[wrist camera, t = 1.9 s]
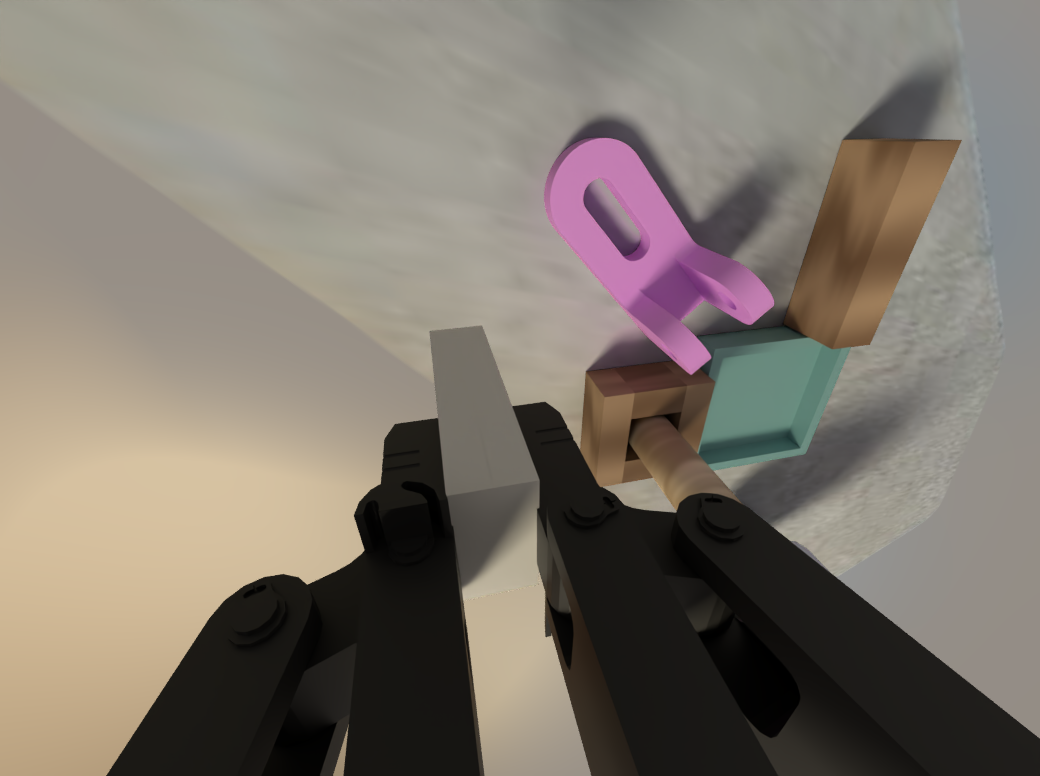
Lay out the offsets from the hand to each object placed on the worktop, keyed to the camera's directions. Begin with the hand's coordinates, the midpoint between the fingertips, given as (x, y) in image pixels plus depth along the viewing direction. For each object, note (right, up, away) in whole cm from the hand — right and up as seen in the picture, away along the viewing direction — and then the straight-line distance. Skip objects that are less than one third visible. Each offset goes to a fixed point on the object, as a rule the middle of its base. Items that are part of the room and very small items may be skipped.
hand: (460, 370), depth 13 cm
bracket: (+8, +9, +14) cm, 18 cm away
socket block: (+11, -2, +21) cm, 23 cm away
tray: (+20, -1, +22) cm, 30 cm away
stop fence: (+23, +10, +17) cm, 30 cm away
